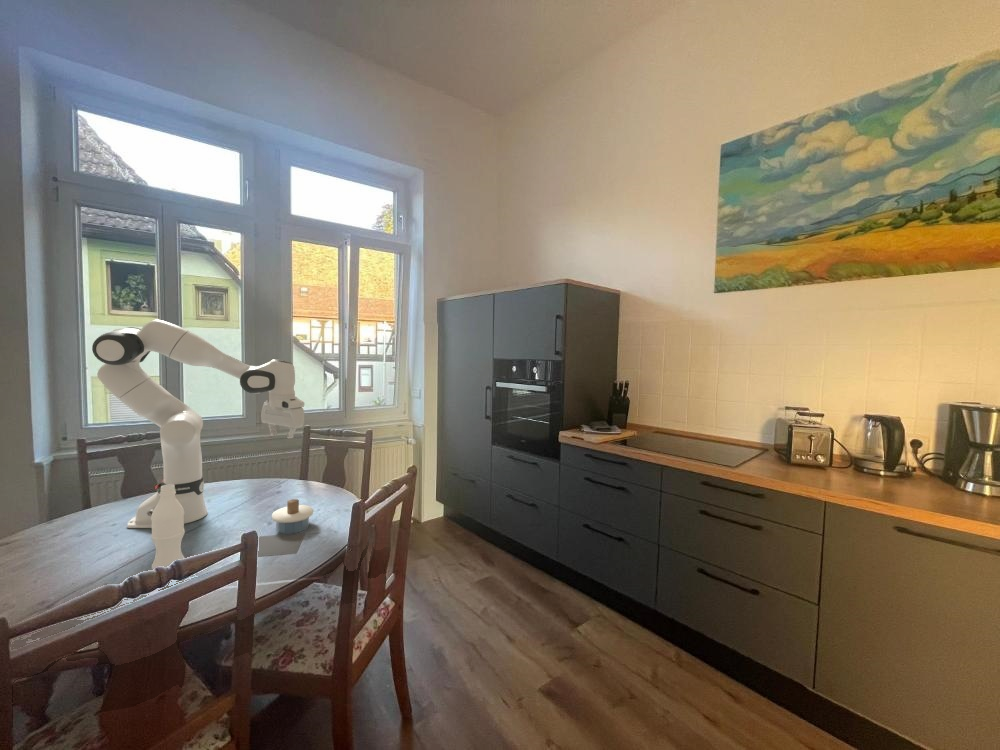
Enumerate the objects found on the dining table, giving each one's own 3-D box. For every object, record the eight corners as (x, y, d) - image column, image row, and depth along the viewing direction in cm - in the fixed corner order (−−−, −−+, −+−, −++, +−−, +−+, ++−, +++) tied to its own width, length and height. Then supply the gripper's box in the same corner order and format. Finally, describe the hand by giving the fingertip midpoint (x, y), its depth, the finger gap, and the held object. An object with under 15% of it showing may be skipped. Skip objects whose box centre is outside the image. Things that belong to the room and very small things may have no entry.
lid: (267, 524, 134) (267, 509, 133) (277, 508, 146) (277, 495, 146) (309, 521, 137) (309, 507, 137) (315, 506, 150) (316, 493, 150)
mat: (245, 559, 121) (245, 557, 121) (259, 538, 134) (259, 536, 134) (296, 555, 125) (296, 553, 125) (305, 534, 138) (305, 532, 138)
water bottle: (183, 563, 118) (182, 479, 116) (186, 573, 113) (185, 486, 111) (150, 571, 113) (149, 485, 111) (152, 583, 108) (151, 492, 106)
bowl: (273, 536, 136) (273, 522, 136) (280, 523, 146) (280, 510, 145) (305, 533, 139) (305, 519, 138) (310, 521, 148) (310, 508, 148)
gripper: (256, 399, 157) (256, 434, 158) (293, 404, 148) (292, 441, 149) (271, 398, 162) (271, 431, 163) (307, 402, 154) (307, 438, 155)
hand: (282, 436), depth 156 cm, fingers open, 8 cm apart
